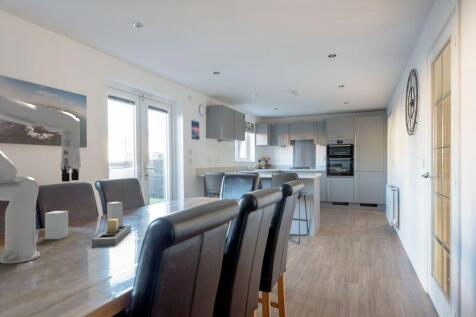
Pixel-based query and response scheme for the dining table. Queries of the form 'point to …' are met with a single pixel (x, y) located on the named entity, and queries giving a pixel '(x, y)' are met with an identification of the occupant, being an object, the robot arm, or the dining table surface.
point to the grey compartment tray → (111, 237)
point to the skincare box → (115, 211)
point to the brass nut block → (113, 226)
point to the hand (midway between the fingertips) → (70, 180)
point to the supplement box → (56, 225)
